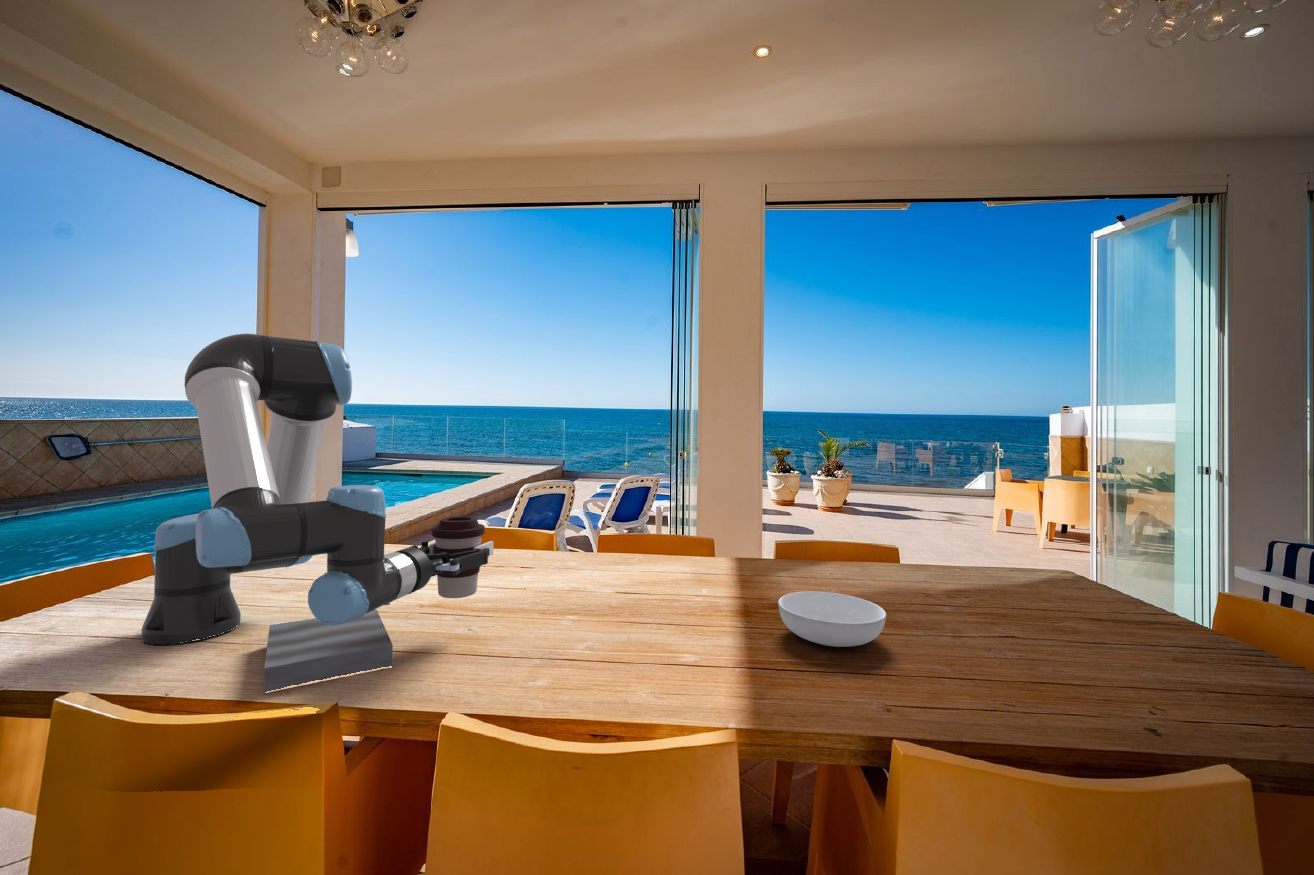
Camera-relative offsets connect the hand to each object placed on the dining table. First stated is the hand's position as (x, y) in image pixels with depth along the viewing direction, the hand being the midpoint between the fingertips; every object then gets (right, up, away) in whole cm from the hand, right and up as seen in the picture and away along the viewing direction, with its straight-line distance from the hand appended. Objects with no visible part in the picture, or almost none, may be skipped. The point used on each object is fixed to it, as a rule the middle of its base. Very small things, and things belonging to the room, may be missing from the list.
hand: (470, 546), depth 113 cm
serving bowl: (+74, -19, -2) cm, 77 cm away
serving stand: (-21, -17, -15) cm, 31 cm away
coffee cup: (-1, -9, -4) cm, 10 cm away
